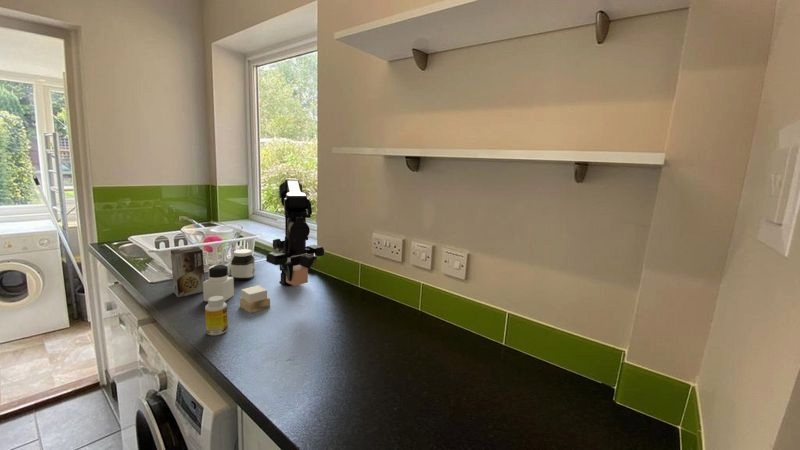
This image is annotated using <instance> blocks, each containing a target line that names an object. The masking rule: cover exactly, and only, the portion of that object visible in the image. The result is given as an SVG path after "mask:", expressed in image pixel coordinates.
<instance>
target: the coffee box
mask: <svg viewBox="0 0 800 450" xmlns="http://www.w3.org/2000/svg"><path fill="white" fill-rule="evenodd" d="M170 258H171V271H172V286H173V294H174V295H176V297H177V298H182V297H186V296H191V295H196V294H200V293H203V282H204V281H206V280H205V264H204V251H203V249H201V247H199V246H195V247H194V246H193V247H191V246H190V247H184V248H177V249H170Z"/></svg>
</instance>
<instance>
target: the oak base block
mask: <svg viewBox="0 0 800 450" xmlns="http://www.w3.org/2000/svg"><path fill="white" fill-rule="evenodd" d="M239 307H240V308H242V309H243V310H245V311H246V312H248V313H249V314H251V313H254V312H258V311H262V310H265V309H269V308H271V298H270V297H268V296H267V299H264V300H260V301H256V302H252V303H249V302H247V301H246V300H244V299H243V298H242V296H241V297H239Z"/></svg>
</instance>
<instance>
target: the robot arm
mask: <svg viewBox="0 0 800 450" xmlns="http://www.w3.org/2000/svg"><path fill="white" fill-rule="evenodd" d="M278 187H279V188H278V198H279V199H280V203H281V204H282V206H283V211H284V219H285V221H284V222H285V223H284V224H285V225H284V226H285V227H284V228H285V229H284V234H285V236H284V240H281V239H280V238H275V239H273V240H272V247H273V250H278V251H272V252H268V253H267V255H266V256H265V257H266V260H265V261H266V262H267V263H269V264H271V265H274V266H279V271H281V272H280V280H279V284H282V285H284V286H285V287H286V286H287V287H291V286H293V285H291V284H289V283H287V282H286V276H287V278H288V281H291V280H292V273H293V266H296V265H301V266H304V267H306V268H308V272H309V271H310V269H311V267H312V265H313V264H314V262H315V260H317V259H318V258H317V257H322V256H325V249H324V247H323V246H320V245H317V244H311V245H307V242H306V241H309V236H310V231H311V229H310V226H309V225H308V223H307V222H306V221H307V219H308V218H309V219H310V218H312V217H311V215H313V210H312V201H310V198H308V196H307V194H306V193H305V192H304V191H303V185H302V184H301V183H300V179H298V178H285V179H284V181H283V182H282V183H280V184H279V186H278ZM306 218H307V219H306Z"/></svg>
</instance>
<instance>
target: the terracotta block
mask: <svg viewBox="0 0 800 450" xmlns="http://www.w3.org/2000/svg"><path fill="white" fill-rule="evenodd" d="M308 272H309V271H308V268H306V267H304V266H301V265H296V266H293V273H292V280H291V281H288V278H287V276H286V282H287V283H289V284H291V285H292V286H294V287H296V286H299V285H304V284H307V283H308V281H309V280H308V278H309V277H308V276H309V273H308Z"/></svg>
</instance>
